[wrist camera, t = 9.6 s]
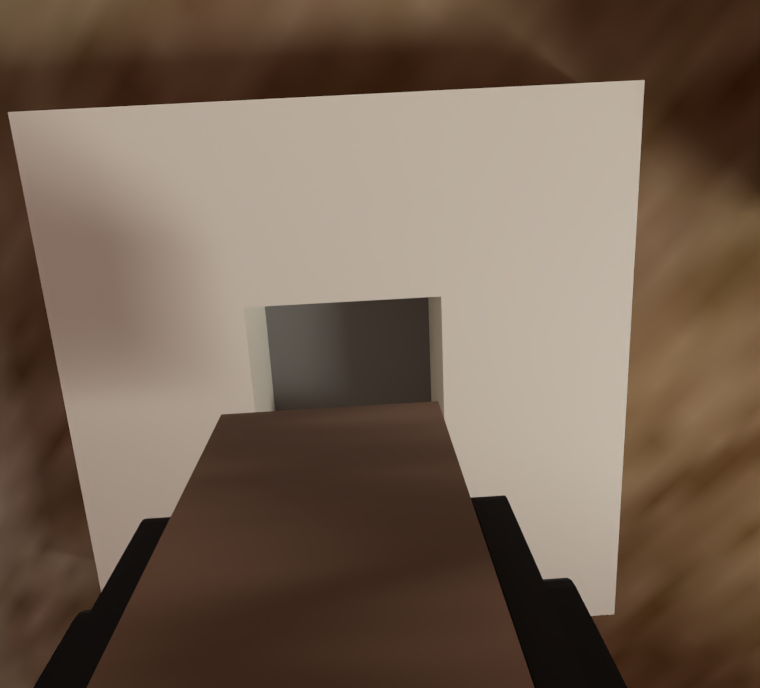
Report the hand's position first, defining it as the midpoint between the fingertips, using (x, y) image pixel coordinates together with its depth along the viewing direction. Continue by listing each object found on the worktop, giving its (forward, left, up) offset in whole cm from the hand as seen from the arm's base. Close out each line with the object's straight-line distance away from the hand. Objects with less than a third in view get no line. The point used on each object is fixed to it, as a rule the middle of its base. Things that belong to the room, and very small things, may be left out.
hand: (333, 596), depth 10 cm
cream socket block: (0, 0, -13) cm, 13 cm away
